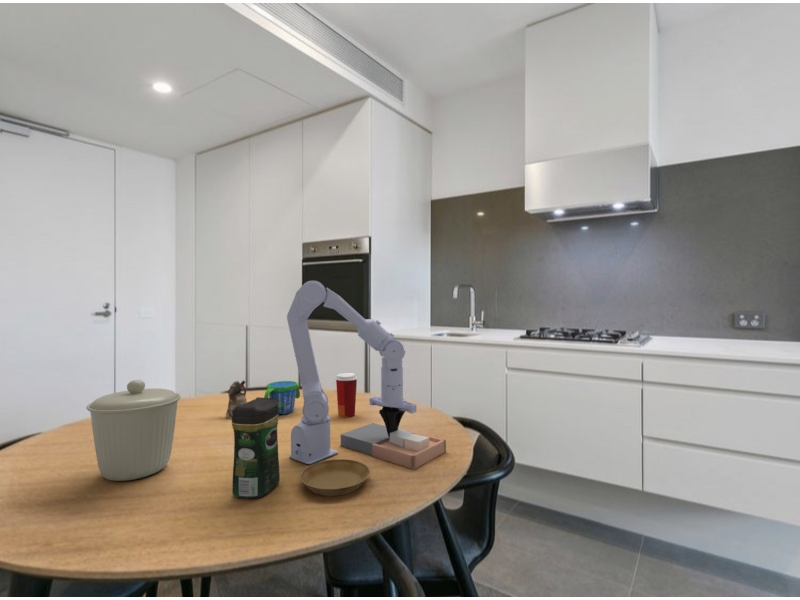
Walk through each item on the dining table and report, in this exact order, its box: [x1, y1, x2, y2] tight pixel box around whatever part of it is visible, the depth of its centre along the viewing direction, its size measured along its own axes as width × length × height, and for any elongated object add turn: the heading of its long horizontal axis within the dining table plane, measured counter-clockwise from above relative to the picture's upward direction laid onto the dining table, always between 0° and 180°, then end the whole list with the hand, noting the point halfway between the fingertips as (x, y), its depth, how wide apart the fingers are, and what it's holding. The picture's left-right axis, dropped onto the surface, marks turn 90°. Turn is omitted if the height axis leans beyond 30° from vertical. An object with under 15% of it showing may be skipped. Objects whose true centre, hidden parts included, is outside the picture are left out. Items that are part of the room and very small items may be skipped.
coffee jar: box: [231, 396, 281, 500], centre depth 83 cm, size 10×8×19 cm
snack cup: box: [263, 380, 301, 415], centre depth 142 cm, size 16×10×10 cm
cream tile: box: [404, 434, 429, 451], centre depth 101 cm, size 4×4×2 cm
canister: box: [85, 379, 182, 482], centre depth 92 cm, size 18×18×21 cm
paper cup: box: [334, 372, 359, 419], centre depth 138 cm, size 8×8×14 cm
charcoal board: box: [340, 422, 400, 456], centre depth 110 cm, size 13×12×3 cm
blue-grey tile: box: [389, 428, 414, 447], centre depth 104 cm, size 4×4×2 cm
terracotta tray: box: [371, 429, 447, 470], centre depth 102 cm, size 14×13×3 cm
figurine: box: [225, 380, 248, 419], centre depth 138 cm, size 7×7×12 cm
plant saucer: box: [299, 458, 371, 497], centre depth 86 cm, size 15×15×3 cm
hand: (392, 436), depth 106 cm, fingers closed
